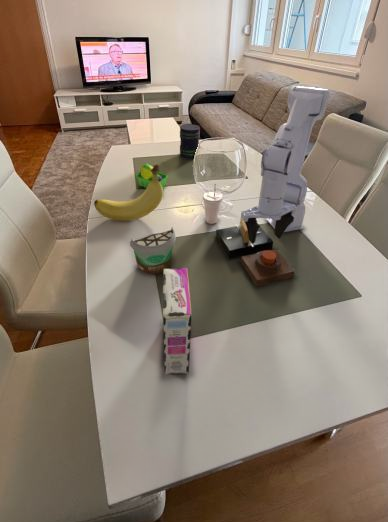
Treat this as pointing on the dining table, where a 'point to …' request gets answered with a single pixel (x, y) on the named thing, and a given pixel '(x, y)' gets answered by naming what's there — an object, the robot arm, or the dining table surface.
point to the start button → (268, 257)
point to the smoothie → (212, 205)
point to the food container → (154, 252)
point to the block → (266, 268)
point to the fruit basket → (149, 176)
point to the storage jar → (189, 140)
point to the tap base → (242, 242)
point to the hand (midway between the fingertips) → (264, 238)
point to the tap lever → (244, 231)
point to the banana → (133, 202)
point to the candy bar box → (176, 321)
